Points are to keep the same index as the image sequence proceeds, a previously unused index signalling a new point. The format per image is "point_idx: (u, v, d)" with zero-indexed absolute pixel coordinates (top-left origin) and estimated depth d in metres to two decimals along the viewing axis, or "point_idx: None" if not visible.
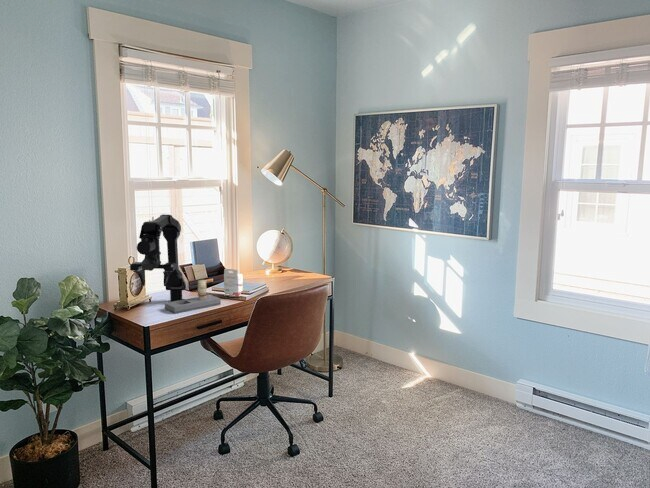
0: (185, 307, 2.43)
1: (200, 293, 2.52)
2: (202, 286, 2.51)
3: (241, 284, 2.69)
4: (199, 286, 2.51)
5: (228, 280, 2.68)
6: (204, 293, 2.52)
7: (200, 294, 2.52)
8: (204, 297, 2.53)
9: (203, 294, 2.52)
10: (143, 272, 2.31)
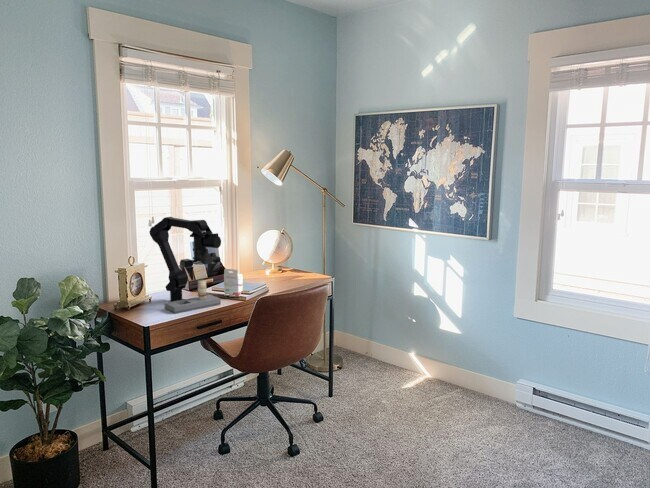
0: (185, 307, 2.43)
1: (200, 293, 2.52)
2: (202, 286, 2.51)
3: (241, 284, 2.69)
4: (199, 286, 2.51)
5: (228, 280, 2.68)
6: (204, 293, 2.52)
7: (200, 294, 2.52)
8: (204, 297, 2.53)
9: (203, 294, 2.52)
10: None
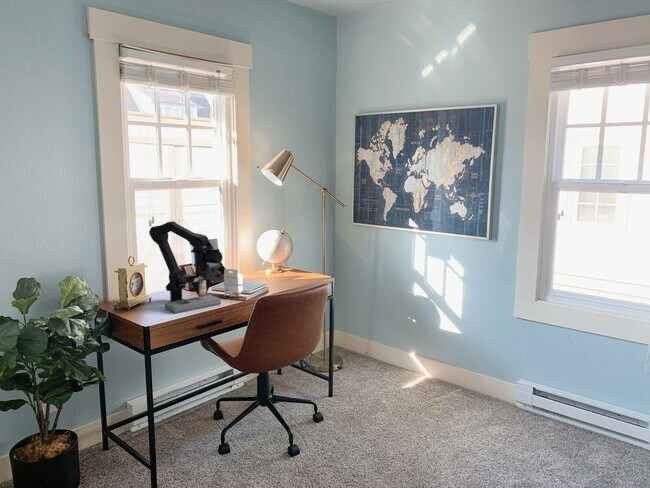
0: (185, 307, 2.43)
1: (200, 293, 2.52)
2: (202, 286, 2.51)
3: (241, 284, 2.69)
4: (199, 286, 2.51)
5: (228, 280, 2.68)
6: (204, 293, 2.52)
7: (200, 294, 2.52)
8: (204, 297, 2.53)
9: (203, 294, 2.52)
10: None
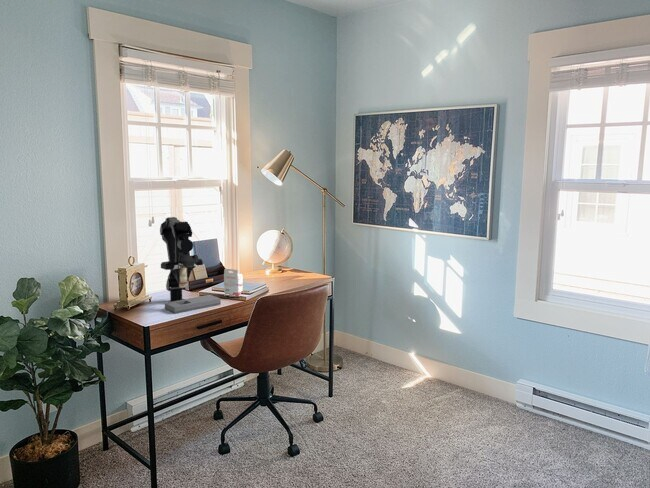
0: (185, 307, 2.43)
1: (180, 281, 2.44)
2: (183, 273, 2.43)
3: (241, 284, 2.69)
4: (179, 274, 2.43)
5: (228, 280, 2.68)
6: (185, 281, 2.44)
7: (180, 282, 2.44)
8: (185, 285, 2.45)
9: (184, 282, 2.44)
10: None
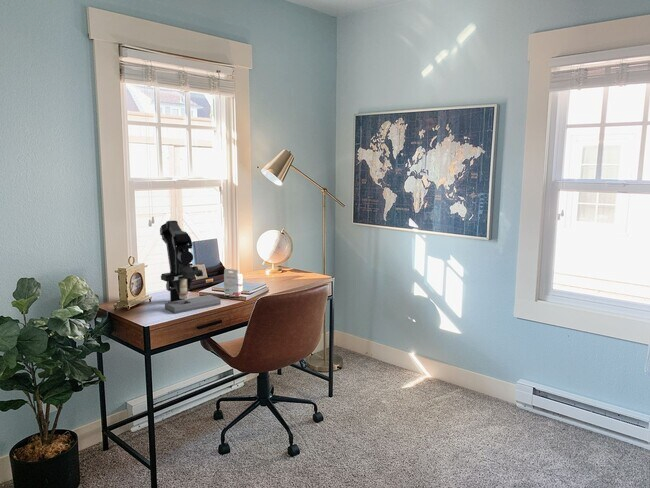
0: (185, 307, 2.43)
1: (181, 292, 2.44)
2: (183, 285, 2.44)
3: (241, 284, 2.69)
4: (180, 285, 2.44)
5: (228, 280, 2.68)
6: (185, 292, 2.45)
7: (181, 293, 2.45)
8: (185, 296, 2.46)
9: (184, 293, 2.45)
10: None
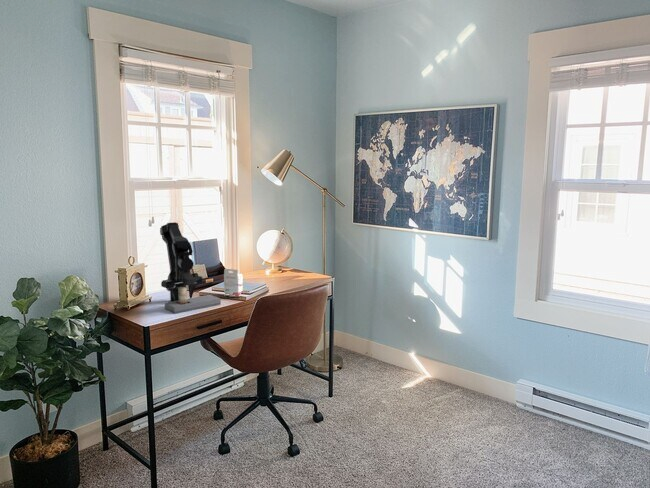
0: (185, 307, 2.43)
1: (181, 301, 2.45)
2: (183, 293, 2.45)
3: (241, 284, 2.69)
4: (180, 293, 2.45)
5: (228, 280, 2.68)
6: (185, 300, 2.46)
7: (181, 302, 2.45)
8: None
9: (184, 302, 2.45)
10: None
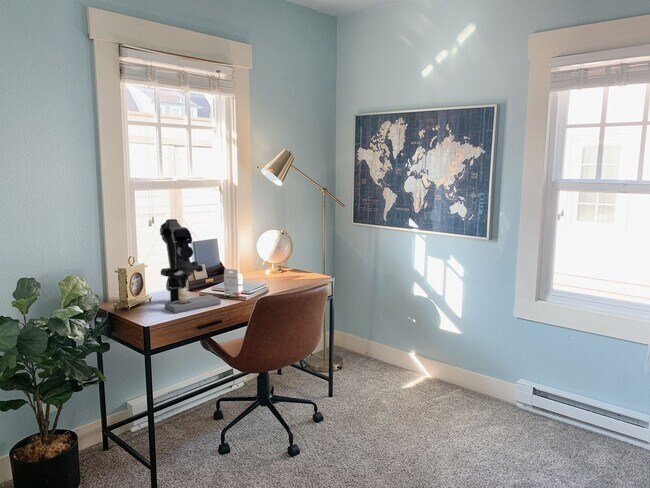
0: (185, 307, 2.43)
1: (181, 301, 2.45)
2: (183, 293, 2.45)
3: (241, 284, 2.69)
4: (180, 294, 2.45)
5: (228, 280, 2.68)
6: (185, 301, 2.46)
7: (181, 302, 2.45)
8: None
9: (184, 302, 2.45)
10: None
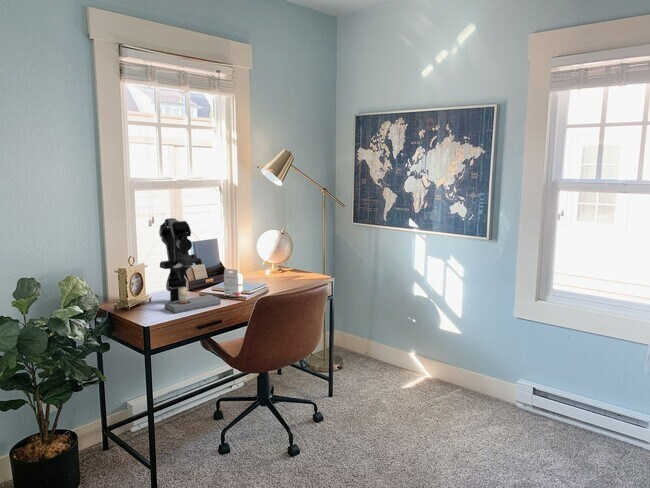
0: (185, 307, 2.43)
1: (181, 301, 2.45)
2: (183, 293, 2.45)
3: (241, 284, 2.69)
4: (180, 294, 2.45)
5: (228, 280, 2.68)
6: (185, 301, 2.46)
7: (181, 302, 2.45)
8: None
9: (184, 302, 2.45)
10: None
